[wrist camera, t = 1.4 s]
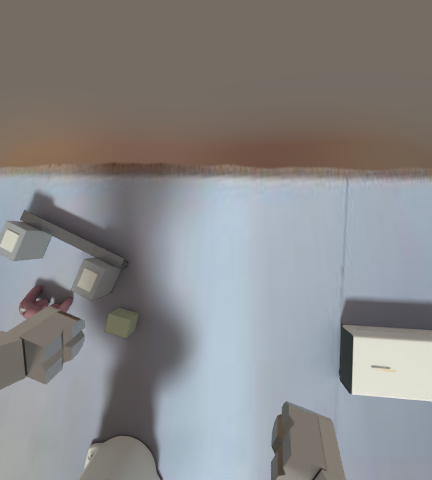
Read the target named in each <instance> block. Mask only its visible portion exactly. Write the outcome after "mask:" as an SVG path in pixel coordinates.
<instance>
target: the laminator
mask: <svg viewBox="0 0 432 480" xmlns="http://www.w3.org/2000/svg"><path fill="white" fill-rule="evenodd" d="M341 328H342V331H341V366H340V381H341V382H342V384H343V385H344V387H345V388H346V389H347V391H348V392H349V393H350V394H355V395H366V396H378V397H389V398H401V399H412V400H424V401H432V330H421V329H404V328H388V327H372V326H355V325H341Z"/></svg>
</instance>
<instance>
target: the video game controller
mask: <svg viewBox="0 0 432 480" xmlns="http://www.w3.org/2000/svg"><path fill="white" fill-rule="evenodd" d="M41 288H42V287H41V286H36V287H34V288H33V289H32V290H31V291H30V292H29V293H28V295H27V296H26V297H25V298H24V299H23V300H22V302H21V303H20V306H19V312H20V314H21V315H22V316H23V317H24V318H26V319H28V318H30V317H32V316H33V315H35V314H36V313H38V312H39V311H41V310H43V309H44V308H46V307H47V306H48V305H49V304H48V300H47V299H41V300H38V301H36V299H37V297H38V295H39V294H40V291H41ZM71 303H72V298H68V299H66V300H65V301H64V302H63V303H62V304H61V305H59V304H52V305H50V306H52V307H54V308H57V309H59V310H61V311H64V312H67V310H68V309H69V307H70V306H71ZM50 306H49V307H50Z"/></svg>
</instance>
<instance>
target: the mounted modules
mask: <svg viewBox="0 0 432 480" xmlns="http://www.w3.org/2000/svg"><path fill="white" fill-rule="evenodd" d="M51 237H52V235H50V234H48V233H46V232H44V231H42V230H40V229H38V228H36V227H34V226H31V225H29V224H27V223H25V222H16V221H6V223H5V226H4V228H3V230H2V233H1V235H0V254H1V255H3V256H5V257H7V258H9V259H11V260H13V261H19V260H30V259H40V258H43V256H44V253H45V251H46V249H47V246H48V244H49V242H50V239H51ZM121 269H122V268H121ZM121 269H119V268H117V267H115V266H113V265H111V264H109V263H107V262H105V261H103V260H101V259H99V258H89V259H84V260H83V263H82V265H81V267H80V269H79V272H78V274H77V276H76V279H75V281H74V283H73V286H72V288H71V291H73V292H75V293H77V294H79V295H81V296H83V297H85V298H87V299H89V300H91V301H93V300H95V299H97V298H100V297H102V296H105V295H107V294H109V293H111V292H112V289H113V287H114V285H115V283H116V280H117V278H118V276H119V273H120V271H121Z"/></svg>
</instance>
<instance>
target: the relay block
mask: <svg viewBox="0 0 432 480" xmlns="http://www.w3.org/2000/svg"><path fill="white" fill-rule="evenodd" d="M138 316H139V313H135V312H132V311H129V310H125V309H122V308H117V309H116V310H114V311H112V312H110V313H109V314H108V318H107V322H106V326H105V330H104V332H107V333H110V334H114V335H117V336H120V337H123V338H127V337H128V336H129V335H130V334H131V333H132V332H134V331H135V328H136V324H137V320H138Z"/></svg>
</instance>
